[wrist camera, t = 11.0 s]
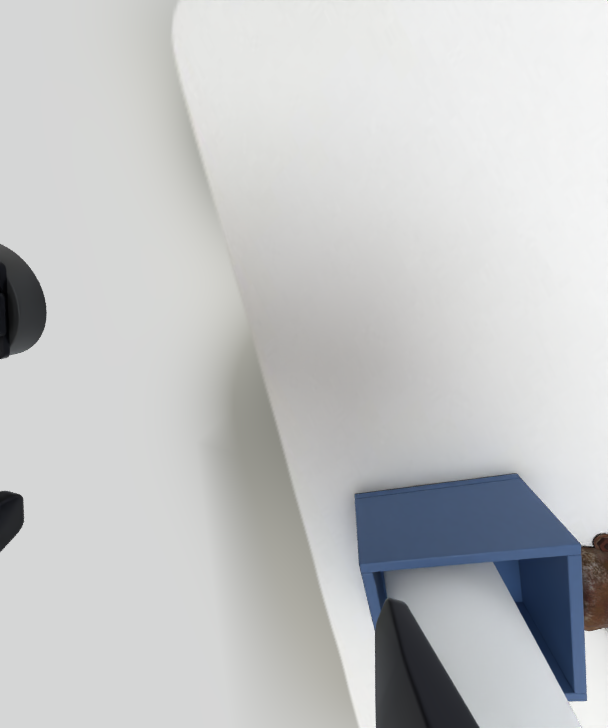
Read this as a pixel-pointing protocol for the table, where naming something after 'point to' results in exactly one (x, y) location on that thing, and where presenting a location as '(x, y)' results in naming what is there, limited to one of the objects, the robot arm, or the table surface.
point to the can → (483, 645)
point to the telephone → (595, 584)
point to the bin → (484, 555)
